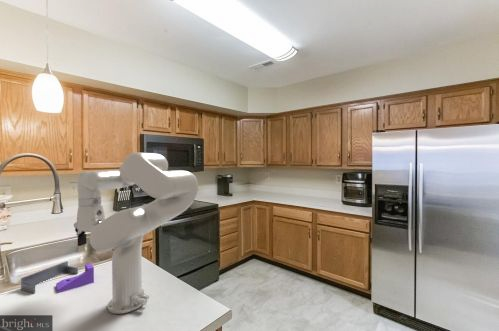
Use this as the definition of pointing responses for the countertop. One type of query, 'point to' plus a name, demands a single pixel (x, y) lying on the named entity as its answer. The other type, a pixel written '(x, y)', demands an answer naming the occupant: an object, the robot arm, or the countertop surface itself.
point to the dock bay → (45, 276)
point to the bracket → (77, 280)
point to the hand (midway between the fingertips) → (90, 246)
